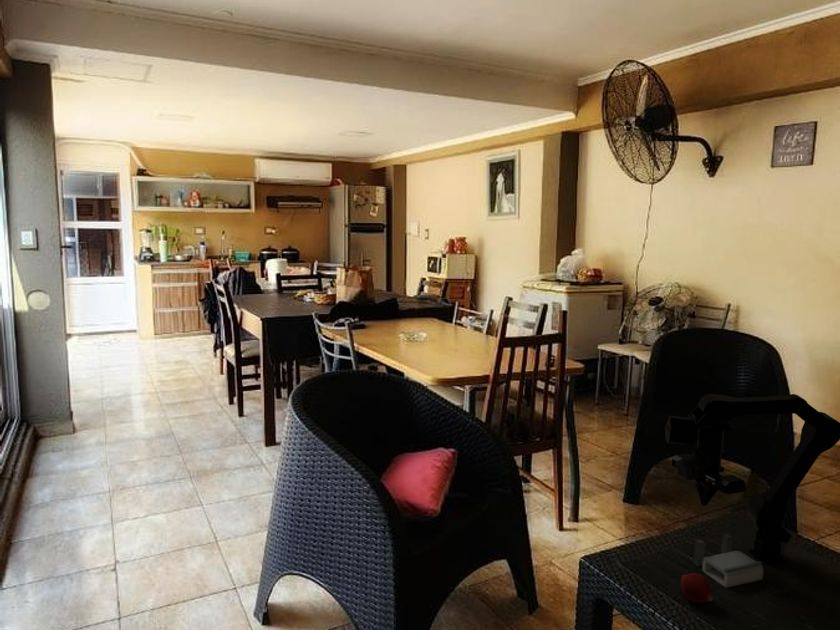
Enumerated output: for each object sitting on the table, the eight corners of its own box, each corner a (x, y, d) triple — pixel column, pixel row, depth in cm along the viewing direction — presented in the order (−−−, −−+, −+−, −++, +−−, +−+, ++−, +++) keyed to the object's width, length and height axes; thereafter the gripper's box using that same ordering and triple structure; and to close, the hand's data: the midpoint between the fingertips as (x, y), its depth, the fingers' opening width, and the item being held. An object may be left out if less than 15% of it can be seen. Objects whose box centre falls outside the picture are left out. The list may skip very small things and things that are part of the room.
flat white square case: (726, 556, 152) (729, 533, 151) (762, 579, 142) (765, 555, 141) (691, 563, 148) (693, 540, 147) (726, 587, 138) (728, 563, 137)
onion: (690, 585, 138) (719, 609, 131) (671, 591, 136) (699, 615, 129) (694, 563, 137) (723, 586, 130) (674, 568, 134) (703, 592, 127)
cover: (737, 553, 148) (738, 548, 148) (762, 568, 142) (763, 563, 141) (703, 560, 145) (704, 555, 144) (727, 576, 138) (727, 571, 138)
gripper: (657, 436, 157) (652, 493, 159) (713, 463, 139) (707, 527, 141) (691, 432, 160) (686, 488, 163) (750, 458, 143) (744, 520, 145)
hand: (704, 504), depth 153 cm, fingers closed
